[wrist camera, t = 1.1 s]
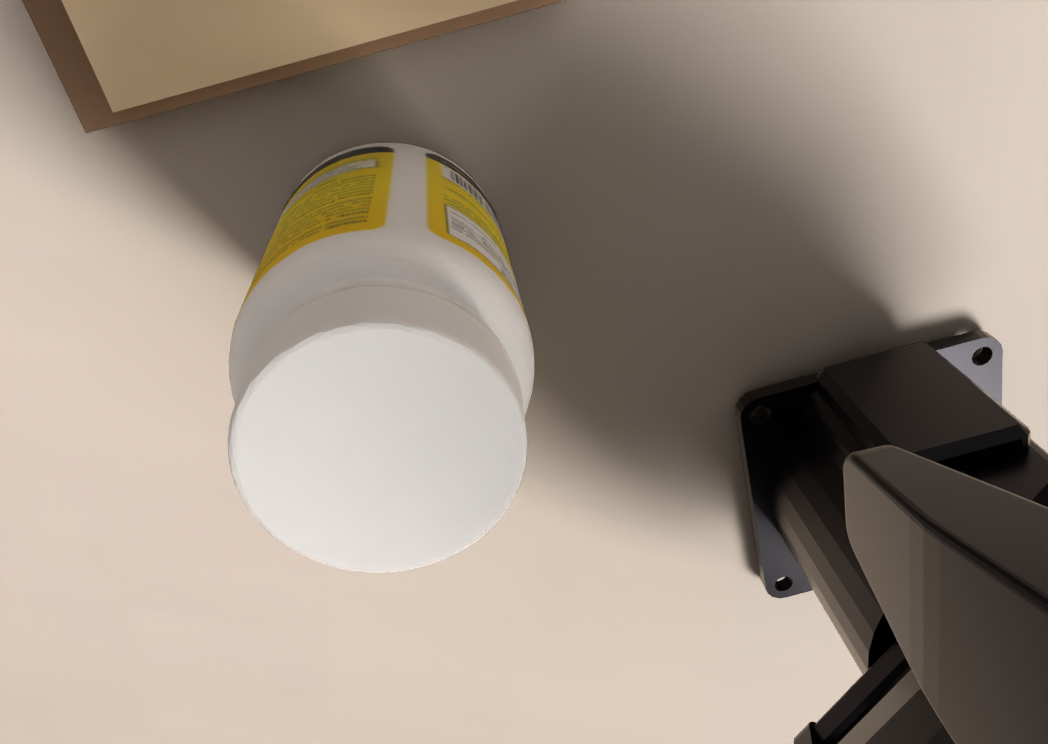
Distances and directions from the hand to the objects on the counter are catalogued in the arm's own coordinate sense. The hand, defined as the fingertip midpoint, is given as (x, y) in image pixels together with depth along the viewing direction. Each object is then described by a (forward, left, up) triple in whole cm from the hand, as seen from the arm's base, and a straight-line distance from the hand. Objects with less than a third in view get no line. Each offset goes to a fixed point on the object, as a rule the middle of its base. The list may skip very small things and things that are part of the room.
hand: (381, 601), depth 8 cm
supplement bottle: (-1, 0, -12) cm, 12 cm away
